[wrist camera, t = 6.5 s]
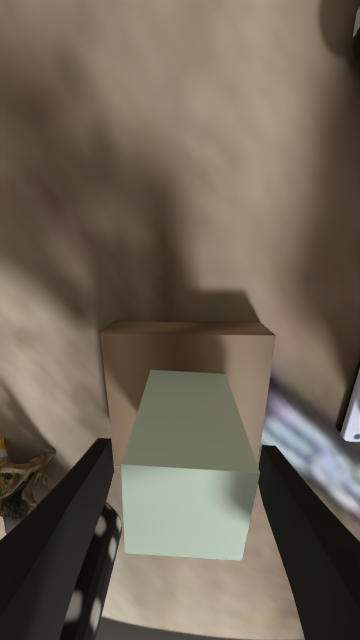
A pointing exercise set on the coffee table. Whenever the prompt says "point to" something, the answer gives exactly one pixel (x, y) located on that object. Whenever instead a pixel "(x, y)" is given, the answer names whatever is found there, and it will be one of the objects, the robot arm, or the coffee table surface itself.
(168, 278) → the coffee table surface
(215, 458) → the sage block
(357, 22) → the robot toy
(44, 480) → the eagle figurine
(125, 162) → the coffee table surface
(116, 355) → the walnut plinth
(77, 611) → the spotted tube
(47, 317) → the coffee table surface
